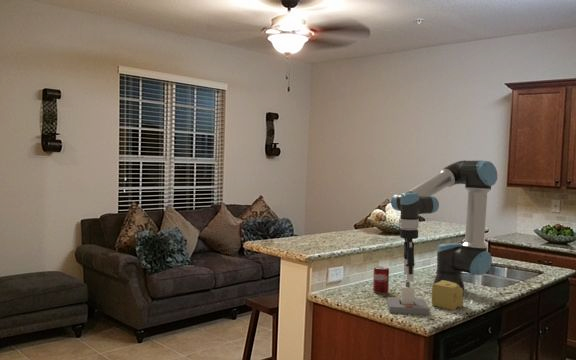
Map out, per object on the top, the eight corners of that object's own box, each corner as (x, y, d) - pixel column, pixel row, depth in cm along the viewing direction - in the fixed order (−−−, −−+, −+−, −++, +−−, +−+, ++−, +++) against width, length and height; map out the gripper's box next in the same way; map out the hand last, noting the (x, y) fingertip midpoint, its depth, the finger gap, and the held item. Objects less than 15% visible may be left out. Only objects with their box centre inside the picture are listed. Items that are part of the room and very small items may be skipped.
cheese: (463, 305, 227) (464, 283, 226) (453, 310, 219) (453, 287, 218) (441, 301, 234) (441, 279, 233) (430, 306, 226) (431, 283, 225)
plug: (412, 306, 223) (413, 280, 222) (413, 309, 218) (414, 283, 217) (400, 305, 223) (401, 280, 223) (401, 309, 219) (402, 283, 218)
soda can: (388, 294, 243) (389, 269, 243) (372, 293, 245) (373, 268, 245) (388, 291, 251) (389, 266, 250) (373, 289, 252) (374, 265, 252)
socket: (423, 304, 228) (423, 297, 227) (428, 314, 212) (428, 307, 212) (387, 302, 230) (387, 295, 230) (389, 312, 214) (389, 305, 214)
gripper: (398, 224, 232) (397, 271, 233) (402, 232, 208) (402, 284, 209) (414, 225, 231) (414, 271, 232) (421, 233, 207) (421, 285, 208)
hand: (408, 277), depth 220 cm, fingers open, 13 cm apart
